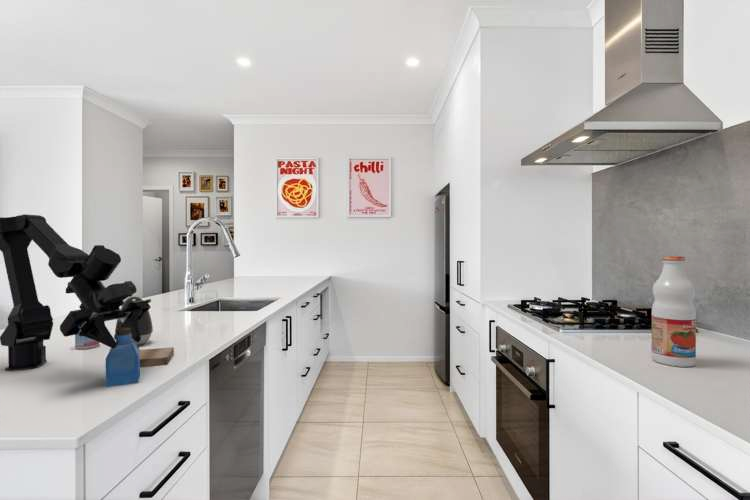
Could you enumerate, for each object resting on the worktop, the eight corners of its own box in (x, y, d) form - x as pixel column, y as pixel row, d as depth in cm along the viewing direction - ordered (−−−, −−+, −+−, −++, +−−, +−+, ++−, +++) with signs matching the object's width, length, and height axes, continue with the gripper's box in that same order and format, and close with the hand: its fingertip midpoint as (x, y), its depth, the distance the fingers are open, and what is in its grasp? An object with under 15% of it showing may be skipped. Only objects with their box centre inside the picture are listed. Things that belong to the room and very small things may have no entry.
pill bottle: (86, 350, 121) (86, 312, 120) (70, 349, 122) (69, 312, 122) (104, 345, 126) (104, 309, 126) (88, 344, 128) (87, 309, 128)
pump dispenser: (141, 348, 122) (141, 298, 122) (107, 348, 122) (107, 298, 122) (159, 340, 132) (159, 294, 132) (128, 340, 132) (128, 294, 132)
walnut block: (119, 371, 102) (118, 361, 102) (130, 359, 112) (130, 350, 112) (167, 366, 106) (167, 357, 105) (173, 355, 116) (173, 347, 116)
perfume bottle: (105, 387, 89) (105, 332, 89) (109, 378, 94) (108, 327, 94) (138, 382, 92) (137, 330, 92) (139, 374, 97) (139, 325, 97)
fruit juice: (664, 355, 113) (665, 255, 112) (703, 364, 104) (704, 256, 104) (643, 359, 109) (644, 256, 108) (682, 369, 100) (683, 257, 100)
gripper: (68, 273, 85) (106, 328, 82) (144, 268, 103) (178, 314, 99) (43, 308, 88) (79, 363, 85) (122, 298, 106) (154, 343, 102)
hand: (127, 343), depth 93 cm, fingers closed on perfume bottle, 6 cm apart
